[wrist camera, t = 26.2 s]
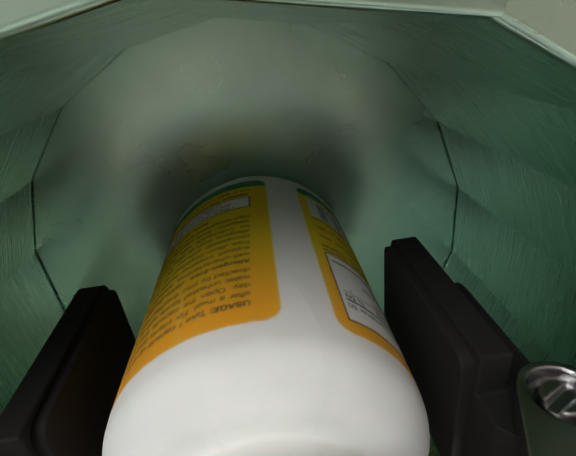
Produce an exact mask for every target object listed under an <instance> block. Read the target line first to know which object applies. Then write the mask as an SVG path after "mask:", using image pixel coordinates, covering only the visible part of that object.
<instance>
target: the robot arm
mask: <svg viewBox="0 0 576 456" xmlns="http://www.w3.org/2000/svg"><path fill="white" fill-rule="evenodd" d="M384 316H385V318H386V320H387V322H388V325H389V327H390V329H391V331H392V333H393V335H394V337H395V339H396V341H397V343H398V345H399V347H400V350H401V352H402V354H403V356H404V358H405V361H406V363H407V365H408V367H409V369H410V371H411V373H412V375H413V377H414V380H415V382H416V384H417V387H418V389H419V391H420V394H421V396H422V399H423V402H424V405H425V408H426V413H427V417H428V423H429V432H430V435H431V437H432V439H433V441H434V443H435V446H436V448H437V450H438V452H439V454H440V456H576V368H575V367H573V366H571V365H568V364H563V363H559V362H555V361H538V362H533V363H530V362H529V360H528V359H527V358H526V357H525V356H524V355H523V353H522V352H521V351H520V350H519V349H518V348H517V346H516V345H515V344H514V343H513V342H512V341H511V339H510V338H509V337H508V336H507V335H506V334H505V332H504V331H503V330H502V329H501V328H500V327H499V326H498V324H497V323H496V322H495V321H494V320H493V319H492V317H491V316H490V315H489V314H488V313H487V312H486V310H485V309H484V308H483V307H482V306H481V305H480V303H479V302H478V301H477V300H476V299H475V298H474V297H473V295H472V294H471V293H470V292H469V291H468V290H467V288H466V287H465V286H464V285H462V284H461V283H458V282H456V283H454V282H453V281H452V279H451V278H450V277H449V276H448V275H447V273H446V272H445V271H444V270H443V269H442V267H441V266H440V265H439V264H438V263H437V261H436V260H435V259H434V258H433V257H432V255H431V254H430V253H429V252H428V251H427V249H426V248H425V247H424V246H423V245H422V243H421V242H420V241H419V240H418V239H417V238H416V237H408V238H402V239H395V240H392V242H391V246H387V247H385V249H384ZM135 342H136V339H135V337H134V334H133V332H132V329H131V327H130V324H129V322H128V319H127V317H126V314H125V312H124V309H123V307H122V304H121V302H120V299H119V297H118V294H117V292H116V291H115V290H109V288H108V287H107V286H105V285H101V286H95V287H88V288H82V289H79V290H78V291H77V292H76V294H75V296H74V297H73V299H72V300H71V302H70V304H69V305H68V307H67V308H66V310H65V312H64V313H63V315H62V317H61V318H60V320H59V321H58V323H57V325H56V326H55V328H54V330H53V331H52V333H51V334H50V336H49V338H48V339H47V341H46V342H45V344H44V346H43V347H42V349H41V351H40V352H39V354H38V355H37V357H36V359H35V360H34V362H33V363H32V365H31V367H30V368H29V370H28V372H27V373H26V375H25V376H24V378H23V380H22V381H21V383H20V385H19V386H18V388H17V389H16V391H15V393H14V394H13V396H12V397H11V399H10V401H9V402H8V404H7V406H6V407H5V409H4V410H3V412H2V414H1V415H0V456H102V447H103V440H104V434H105V431H106V427H107V423H108V420H109V416H110V413H111V410H112V407H113V404H114V401H115V399H116V396H117V393H118V390H119V387H120V384H121V381H122V378H123V375H124V373H125V370H126V367H127V364H128V361H129V359H130V356H131V353H132V350H133V348H134V345H135Z"/></svg>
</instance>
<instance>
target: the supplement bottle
mask: <svg viewBox="0 0 576 456" xmlns="http://www.w3.org/2000/svg"><path fill="white" fill-rule="evenodd" d="M429 447H430V432H429V423H428V417H427V413H426V408H425V405H424V402H423V399H422V396H421V394H420V391H419V389H418V387H417V384H416V382H415V380H414V377H413V375H412V373H411V371H410V369H409V367H408V365H407V363H406V361H405V358H404V356H403V354H402V352H401V350H400V347H399V345H398V343H397V341H396V339H395V337H394V335H393V333H392V331H391V329H390V327H389V325H388V322H387V320H386V318H385V316H384V314H383V312H382V310H381V307H380V306H379V304H378V302H377V300H376V298H375V296H374V294H373V291H372V289H371V287H370V285H369V283H368V280H367V278H366V276H365V274H364V272H363V270H362V268H361V266H360V264H359V262H358V260H357V258H356V256H355V253H354V251H353V249H352V247H351V245H350V243H349V241H348V239H347V237H346V235H345V233H344V231H343V229H342V227H341V225H340V223H339V221H338V219H337V218H336V216H335V214H334V213H333V212H332V210H331V209H330V208H329V206H328V205H327V204H326V203H325V202H324V201H323V200H322V199H321V198H320V197H319V196H318V195H316V194H315V193H314V192H312V191H311V190H309V189H308V188H306V187H304V186H302V185H300V184H298V183H295V182H292V181H290V180H286V179H282V178H278V177H271V176H248V177H242V178H238V179H236V180H233V181H230V182H227V183H224V184H222V185H220V186H218V187H216V188H214V189H212V190H210V191H208V192H207V193H205V194H204V195H202V196H201V197H200V198H199V199H197V200H196V201H195V202H194V203H193V204H192V205H191V206H190V207H189V208H188V209H187V210H186V212H185V213H184V214H183V216H182V217H181V219H180V220H179V222H178V224H177V227H176V229H175V231H174V233H173V236H172V239H171V242H170V244H169V247H168V250H167V253H166V256H165V258H164V262H163V265H162V268H161V271H160V274H159V277H158V279H157V282H156V285H155V288H154V291H153V294H152V297H151V300H150V303H149V305H148V308H147V311H146V314H145V317H144V320H143V323H142V326H141V329H140V331H139V334H138V337H137V339H136V342H135V345H134V348H133V350H132V353H131V356H130V359H129V361H128V364H127V367H126V370H125V373H124V375H123V378H122V381H121V384H120V387H119V390H118V393H117V396H116V399H115V401H114V404H113V407H112V410H111V413H110V416H109V420H108V423H107V427H106V431H105V434H104V440H103V447H102V456H429Z"/></svg>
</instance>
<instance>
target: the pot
mask: <svg viewBox="0 0 576 456" xmlns="http://www.w3.org/2000/svg"><path fill="white" fill-rule="evenodd" d="M248 176H271V177H278V178H282V179H286V180H290V181H292V182H295V183H298V184H300V185H302V186H304V187H306V188H308V189H309V190H311V191H312V192H314V193H315V194H316V195H318V196H319V197H320V198H321V199H322V200H323V201H324V202H325V203H326V204H327V205H328V206H329V208H330V209H331V210H332V212H333V213H334V214H335V216H336V218H337V219H338V221H339V223H340V225H341V227H342V229H343V231H344V233H345V235H346V237H347V239H348V241H349V243H350V245H351V247H352V249H353V251H354V253H355V256H356V258H357V260H358V262H359V264H360V266H361V268H362V270H363V272H364V274H365V276H366V278H367V280H368V283H369V285H370V287H371V289H372V291H373V294H374V296H375V298H376V300H377V302H378V304H379V306H380V307H381V310H382V312H383V314H384V249H385V247H387V246H391V242H392V240H395V239H402V238H408V237H416V238H417V239H418V240H419V241H420V242H421V243H422V245H423V246H424V247H425V248H426V249H427V251H428V252H429V253H430V254H431V255H432V257H433V258H434V259H435V260H436V261H437V263H438V264H439V265H440V266H441V267H442V269H443V270H444V271H445V272H446V273H447V275H448V276H449V277H450V278H451V279H452V281H453V282H454V283H456V282H458V283H461V284H462V285H464V286H465V287H466V288H467V290H468V291H469V292H470V293H471V294H472V295H473V297H474V298H475V299H476V300H477V301H478V302H479V303H480V305H481V306H482V307H483V308H484V309H485V310H486V312H487V313H488V314H489V315H490V316H491V317H492V319H493V320H494V321H495V322H496V323H497V324H498V326H499V327H500V328H501V329H502V330H503V331H504V332H505V334H506V335H507V336H508V337H509V338H510V339H511V341H512V342H513V343H514V344H515V345H516V346H517V348H518V349H519V350H520V351H521V352H522V353H523V355H524V356H525V357H526V358H527V359H528V360H529V362H530V363H533V362H538V361H555V362H559V363H563V364H568V365H571V366H573V367H575V368H576V0H0V415H1V414H2V412H3V410H4V409H5V407H6V406H7V404H8V402H9V401H10V399H11V397H12V396H13V394H14V393H15V391H16V389H17V388H18V386H19V385H20V383H21V381H22V380H23V378H24V376H25V375H26V373H27V372H28V370H29V368H30V367H31V365H32V363H33V362H34V360H35V359H36V357H37V355H38V354H39V352H40V351H41V349H42V347H43V346H44V344H45V342H46V341H47V339H48V338H49V336H50V334H51V333H52V331H53V330H54V328H55V326H56V325H57V323H58V321H59V320H60V318H61V317H62V315H63V313H64V312H65V310H66V308H67V307H68V305H69V304H70V302H71V300H72V299H73V297H74V296H75V294H76V292H77V291H78V290H79V289H82V288H88V287H95V286H101V285H105V286H107V287H108V288H109V290H115V291H116V292H117V294H118V297H119V299H120V302H121V304H122V307H123V309H124V312H125V314H126V317H127V319H128V322H129V324H130V327H131V329H132V332H133V334H134V337H135V339H137V337H138V334H139V331H140V329H141V326H142V323H143V320H144V317H145V314H146V311H147V308H148V305H149V303H150V300H151V297H152V294H153V291H154V288H155V285H156V282H157V279H158V277H159V274H160V271H161V268H162V265H163V262H164V258H165V256H166V253H167V250H168V247H169V244H170V242H171V239H172V236H173V233H174V231H175V229H176V227H177V224H178V222H179V220H180V219H181V217H182V216H183V214H184V213H185V212H186V210H187V209H188V208H189V207H190V206H191V205H192V204H193V203H194V202H195V201H196V200H197V199H199V198H200V197H201V196H202V195H204V194H205V193H207V192H208V191H210V190H212V189H214V188H216V187H218V186H220V185H222V184H224V183H227V182H230V181H233V180H236V179H238V178H242V177H248ZM429 456H440V454H439V452H438V450H437V448H436V446H435V443H434V441H433V439H432V437H431V435H430V447H429Z"/></svg>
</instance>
